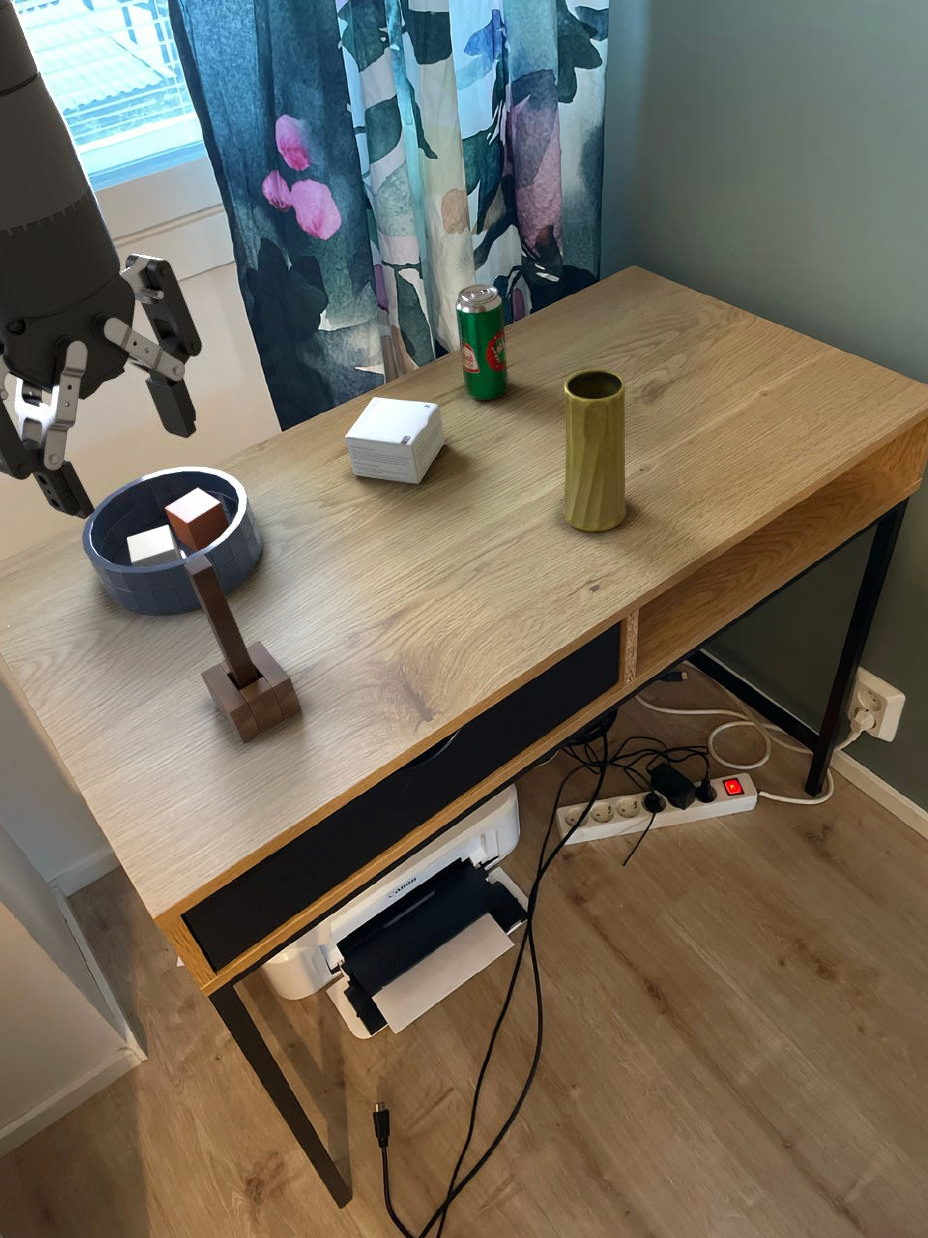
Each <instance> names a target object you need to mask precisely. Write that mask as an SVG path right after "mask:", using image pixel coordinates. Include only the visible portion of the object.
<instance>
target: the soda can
mask: <svg viewBox="0 0 928 1238" xmlns="http://www.w3.org/2000/svg"><path fill="white" fill-rule="evenodd" d="M503 309H504V307H503V299H502V297H501V295H499V291H498V288H497V287H495V286H494V285H491V284H486V283H477V284H471V285H468V286H465V287H464V288H462V289H460V290H459V292H458V294H457V300H456V302H455V312H456V322H457V330H458V331H457V332H458V336H459V337H458V339H459V348H460V356H461V365H462V372H463V383H464V390H465V392H466V394H467V395H469V397H471V398H472V399H475V400H477V401H492V400H495V399H498V398H500V397H501V396H503V395H504V394H505V393H506V392H507V389H509V373H508V361H507V360H508V359H507V349H506V347H507V346H506V333H505V323H504V322H505V320H504V310H503Z"/></svg>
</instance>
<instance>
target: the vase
mask: <svg viewBox="0 0 928 1238" xmlns="http://www.w3.org/2000/svg"><path fill="white" fill-rule="evenodd" d="M563 387H564V411H565V415H564V416H565V419H564V421H565V435H564V437H565V439H564V447H565V448H564V449H565V450H564V451H565V452H564V453H565V468H564V495H563V496H564V499H563V508H562V513H563V518H564V520H565V522H566V523H568V524H569V525H570V526H571V527H573V528H574V529H577V530H580V531H583V532H589V533H591V532H592V533H593V532H595V533H596V532H604V531H609V530H611V529H613V528H615V527H617V526H619V525H620V524H621V523H622V522H623V521H624V519H625V518H626V516H627V505H626V501H625V498H626V496H625V494H626V417H625V416H626V415H625V413H626V411H625V408H626V407H625V406H626V405H625V403H626V402H625V401H626V396H625V395H626V380H625V379H624V377H623V376H622V374H620V373H618V372H616V371H614V370H611V369H607V368H589V369H583V370H580V371H577V372H574V373H573V374H571V375H570V376H569V377H568V378H567V379H566V380H565V382H564V386H563Z"/></svg>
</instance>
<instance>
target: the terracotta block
mask: <svg viewBox="0 0 928 1238" xmlns="http://www.w3.org/2000/svg"><path fill="white" fill-rule="evenodd" d="M165 510H166V513H167V515H168V517H169V519H170V522H171V524H172V526H173V529H174V531H175V533H176V536H177V538H178V539H179V540H180V541H182V542H183V543H185V544H186V545H187V546H189V547H190V548H192V549H193V550H194V551H196V552H198V551H200V550H202V549H204V548H206V547H207V546H209V545H210V544H211V543H213V542H214V541H215V540H217V539H218V538H219V537H221V535H222V534H223V533H224V532H225V531H226V530H227V529H228V528H229V523H228V520H227V518H226V515H225V512H224V510H223V507H222V504H221V502H219V501H218V500H216V499H215V498H213V497H212V496H210V495H209V494H207V493H205V492H204V491H202V490H201V489H199V488H196V489H195V490H193V491H191V492H190V493H188V494H187V495H185V496H183V497H182V498H180V499H178V500H177V501H175V502H173V503H172V504H170V505H169V506H167V507H165Z"/></svg>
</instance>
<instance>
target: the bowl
mask: <svg viewBox="0 0 928 1238" xmlns="http://www.w3.org/2000/svg"><path fill="white" fill-rule="evenodd" d="M196 488H199V489H201V490H202V491H204V492H205V493H207V494H209V495H210V496H212V497H213V498H215V499H216V500H218V501H219V502H221V504H222V507H223V510H224V512H225V515H226V518H227V520H228V523H229V528H228V529H227V530H226V531H225V532H224V533H223V534H222V535H221V537H219V538H218V539H217V540H215V541H214V542H213V543H211V544H210V545H209V546H207V547H206V548H204V549H202V550H200V551H198V552H196V551H194V550H193V549H192V548H190V547H189V546H187V545H186V544H185V543H183V542H182V541H180V540H179V539H178V538H177V536H176V533H175V531H174V529H173V526H172V524H171V522H170V519H169V517H168V515H167V513H166V510H165V507H167V506H169V505H170V504H172V503H173V502H175V501H177V500H178V499H180V498H182V497H183V496H185V495H187V494H188V493H190V492H191V491H193V490H195V489H196ZM94 509H95V512H94V513H92V514H91V515H90V516H89V517H87V519H86V521H85V523H84V527H83V531H82V534H81V541H82V547H83V548H82V549H83V551H84V553H85V554H86V557H87V558H88V560H89V562H90V563H91V565H92V567H93V569H94V571H95V573H96V574H97V577H98V579H99V580H100V582H101V584H102V586H103V587H104V589H105V591H106V592H107V594H108V596H109V597H110V598H111V600H112V601H113V602H114V603H115V604H116V605H118V606H119V607H121V608H122V609H125V610H126V611H128V612H133V613H135V614H139V615H145V616H171V615H178V614H183V613H187V612H188V613H189V612H192V611H195V610H198V609H200V608H202V606H201V604H200V602H199V600H198V597H197V595H196V593H195V590H194V588H193V586H192V584H191V581H190V579H189V577H188V575H187V572H186V570H185V568H184V564H186V563H188V562H190V561H192V560H194V559H196V558H198V557H200V556H202V555H204V556H205V557H206V558H207V560H208V561H209V562H210V563H211V564H212V565H213V568H214V570H215V573H216V575H217V578H218V580H219V582H220V585H221V587H222V590H223V592H224V595H225V596H227V595H229V594H230V593H231V592H232V591H234V590H235V589H236V588H238V587H239V586H240V585H241V584H242V583H244V581H245V580H246V579H247V578H248V577H249V576H250V575H251V573H252V571H253V570H254V569H255V567H256V566H257V563H258V562H259V559H260V556H261V553H262V544H263V543H262V537H261V533H260V530H259V527H258V525H257V522H256V518H255V516H254V513H253V509H252V507H251V503H250V501H249V499H248V496H247V492H246V490H245V487H244V485H243V484H242V483H240V481H239V480H238V479H237V478H235V477H234V476H233V475H232V474H230V473H227V472H225V471H223V470H220V469H216V468H211V467H206V466H180V467H174V468H168V469H167V468H166V469H163V470H158V471H156V472H152V473H150V474H149V473H148V474H146V475H142V476H141V477H139V478H136V479H134V480H132V481H130V482H128V483H126V484H124V485H123V486H121V487H119V488H117V489H116V490H115V491H114V492H112V493H110V494H109V495H108V496H107V497H105V498H104V499H103V500H102V501H101V502H100V503H99V504H98V505H97V506H95V507H94ZM166 525H169V527H170V530H171V532H172V534H173V537H174V539H175V541H176V543H177V546H178V548H179V550H180V553H181V555H182V558H183V559H180V560H177V561H174V562H171V563H167V564H162V565H156V566H149V567H133V565H132V562H131V557H130V552H129V547H128V542H127V537H130V536H134V535H137V534H140V533H143V532H146V531H150V530H153V529H156V528H159V527H162V526H166Z"/></svg>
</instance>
